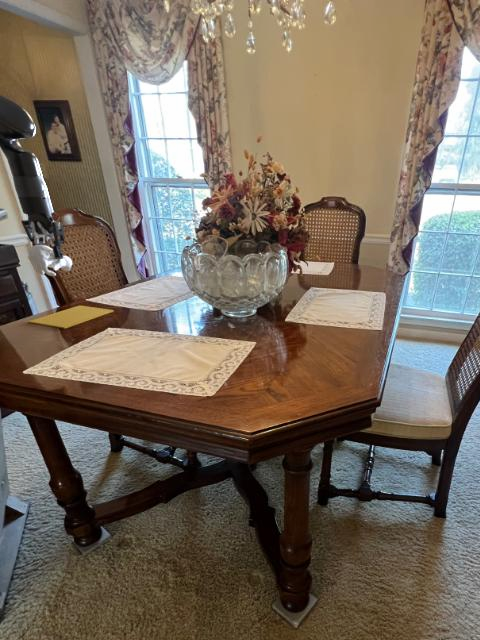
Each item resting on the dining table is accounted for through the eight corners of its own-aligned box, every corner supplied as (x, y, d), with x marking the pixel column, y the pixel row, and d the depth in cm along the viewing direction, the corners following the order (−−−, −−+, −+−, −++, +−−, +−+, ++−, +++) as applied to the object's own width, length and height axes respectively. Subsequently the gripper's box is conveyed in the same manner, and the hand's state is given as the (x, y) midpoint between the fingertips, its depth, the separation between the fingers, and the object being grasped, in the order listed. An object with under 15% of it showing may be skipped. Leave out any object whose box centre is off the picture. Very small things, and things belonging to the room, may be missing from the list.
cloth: (65, 328, 117) (64, 327, 117) (28, 322, 122) (27, 321, 122) (114, 311, 133) (113, 310, 133) (80, 306, 138) (79, 305, 138)
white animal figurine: (22, 244, 109) (59, 243, 119) (29, 275, 112) (65, 272, 123) (38, 245, 107) (74, 244, 117) (45, 277, 111) (80, 273, 121)
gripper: (2, 194, 105) (24, 258, 114) (39, 195, 101) (58, 262, 109) (28, 194, 112) (46, 255, 120) (63, 195, 107) (80, 258, 115)
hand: (52, 258), depth 115 cm, fingers closed on white animal figurine, 5 cm apart
